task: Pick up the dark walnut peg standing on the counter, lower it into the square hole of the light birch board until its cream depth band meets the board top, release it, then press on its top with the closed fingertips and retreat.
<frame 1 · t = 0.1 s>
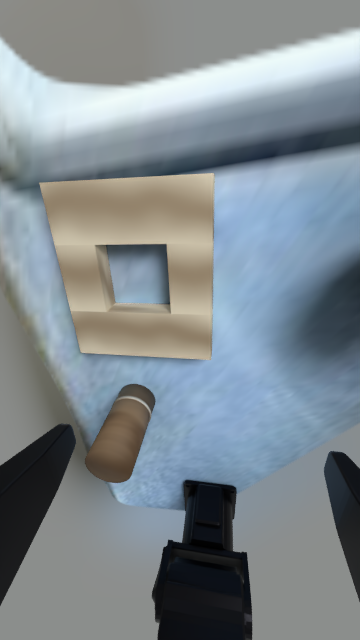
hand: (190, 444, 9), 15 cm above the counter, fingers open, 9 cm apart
peg: (137, 398, 29), on the counter
board: (141, 273, 22), on the counter
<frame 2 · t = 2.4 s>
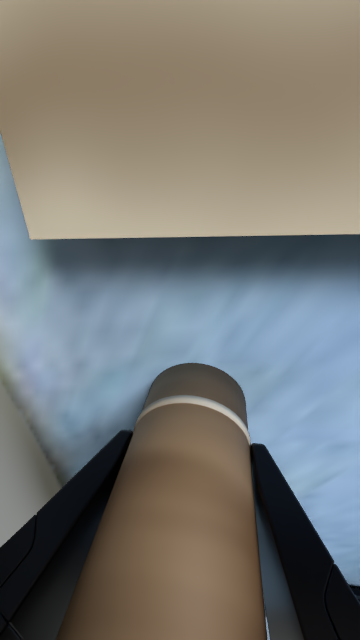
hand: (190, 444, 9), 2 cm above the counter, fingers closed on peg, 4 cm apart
peg: (196, 402, 11), on the counter, touching gripper
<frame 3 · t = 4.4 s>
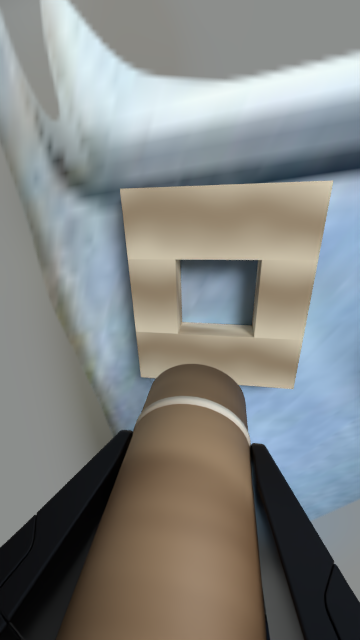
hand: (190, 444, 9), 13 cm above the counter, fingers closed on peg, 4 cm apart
peg: (196, 403, 11), point 11 cm above the counter, touching gripper
board: (217, 290, 20), on the counter
when the fingers open (3 cm above the counter, at t = 6.5 s): peg drops 1 cm, resting in board.
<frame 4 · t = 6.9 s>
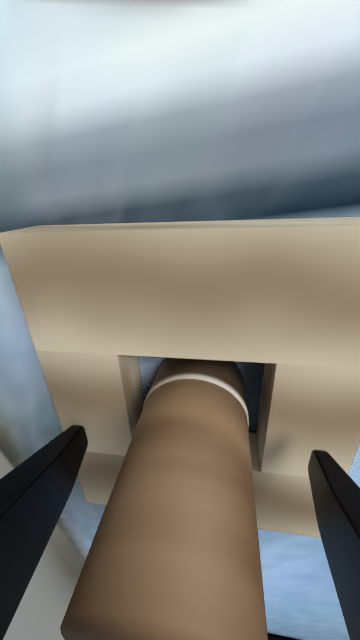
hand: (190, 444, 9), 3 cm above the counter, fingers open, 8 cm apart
peg: (199, 383, 12), resting in board
board: (199, 384, 12), on the counter
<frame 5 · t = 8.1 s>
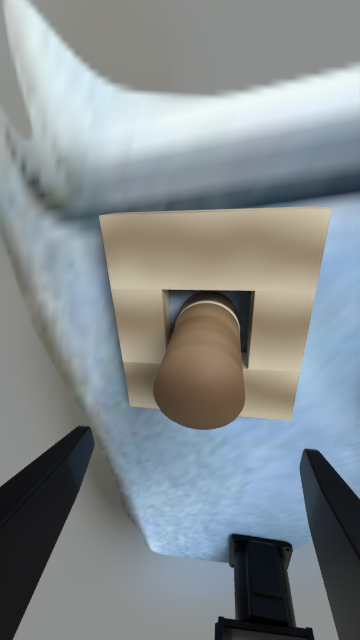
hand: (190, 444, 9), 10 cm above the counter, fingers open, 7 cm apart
peg: (208, 317, 19), resting in board
board: (208, 317, 18), on the counter
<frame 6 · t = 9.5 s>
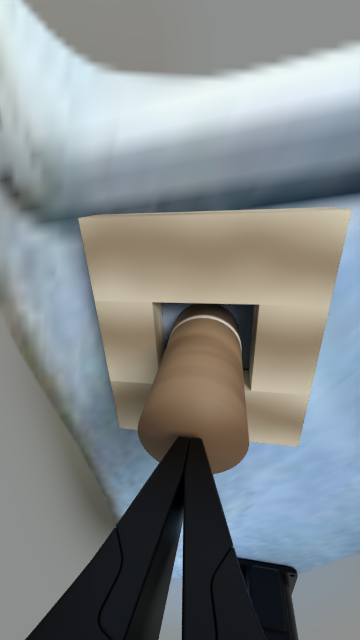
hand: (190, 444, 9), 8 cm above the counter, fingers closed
peg: (206, 331, 17), resting in board
board: (206, 331, 16), on the counter
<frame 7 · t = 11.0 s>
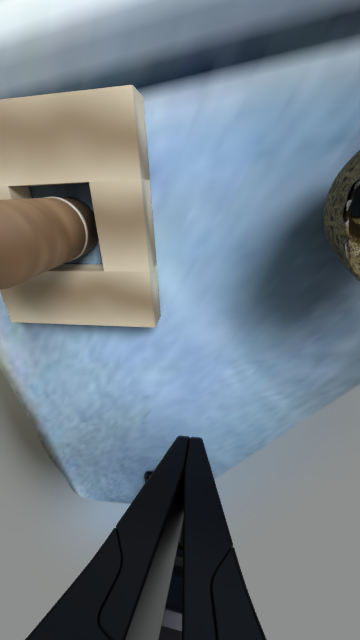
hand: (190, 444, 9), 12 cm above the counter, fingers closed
peg: (73, 227, 19), resting in board
board: (73, 226, 19), on the counter
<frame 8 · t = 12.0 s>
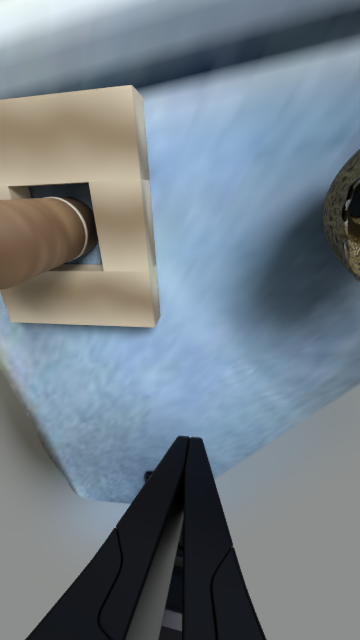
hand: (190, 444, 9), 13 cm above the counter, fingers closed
peg: (73, 227, 19), resting in board
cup: (359, 201, 16), on the counter
board: (73, 227, 19), on the counter
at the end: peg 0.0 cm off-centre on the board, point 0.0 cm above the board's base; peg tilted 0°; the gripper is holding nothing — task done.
